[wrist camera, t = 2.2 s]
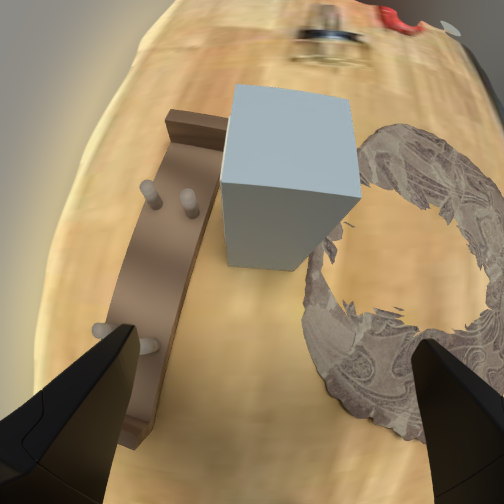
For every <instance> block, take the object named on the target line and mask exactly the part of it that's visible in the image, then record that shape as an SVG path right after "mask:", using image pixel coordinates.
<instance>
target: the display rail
mask: <svg viewBox="0 0 504 504" xmlns="http://www.w3.org/2000/svg"><path fill="white" fill-rule="evenodd" d="M228 119H229V118H224V117H218V116H213V115H207V114H201V113H194V112H188V111H181V110H174V109H170V111H169V113H168V115H167V117H166V119H165V123H166V126H167V130H168V133H169V137H170V140H171V143H170V145H169V147H168V149H167V152H166V154H165V156H164V158H163V160H162V163H161V165H160V167H159V169H158V172H157V174H156V176H155V179H154V181H153V182H152V181H151V180H144V181H143V182H142V183H141V184H140V190H141V192H142V194H143V195H144V197H145V199H146V201H145V203H144V206H143V208H142V211H141V213H140V216H139V219H138V221H137V224H136V227H135V229H134V232H133V235H132V238H131V241H130V243H129V246H128V249H127V252H126V255H125V258H124V261H123V264H122V267H121V270H120V274H119V277H118V280H117V283H116V287H115V290H114V293H113V297H112V300H111V304H110V307H109V311H108V315H107V319H106V322H105V323H95V324H94V325H93V327H92V334H93V336H94V337H96V338H98V339H101V340H102V339H103V338H104V337H106V336H107V335H108V334H109V333H111V332H112V331H113V330H114V329H116V328H117V327H118V326H119V325H121V324H122V323H127V324H133V325H135V326H136V327H137V331H138V336H139V340H140V345H141V348H140V354H139V359H138V364H137V369H136V374H135V380H134V385H133V390H132V395H131V398H130V402H129V405H128V408H127V412H126V415H125V418H124V422H123V425H122V429H121V432H120V436H119V439H118V443H117V444H120V445H122V446H124V447H127V448H129V449H132V450H135V449H136V448H137V447H138V446H139V445H140V444H141V442H142V441H143V440H144V439H145V438H146V437H147V436H148V434H149V433H150V432H151V431H152V428H153V423H154V419H155V414H156V410H157V405H158V401H159V397H160V392H161V388H162V384H163V380H164V375H165V371H166V367H167V363H168V359H169V355H170V351H171V347H172V343H173V340H174V336H175V332H176V328H177V324H178V321H179V317H180V313H181V310H182V306H183V303H184V299H185V295H186V292H187V288H188V285H189V281H190V278H191V275H192V271H193V268H194V264H195V261H196V258H197V254H198V251H199V248H200V245H201V241H202V238H203V235H204V232H205V229H206V225H207V222H208V219H209V216H210V213H211V210H212V207H213V204H214V201H215V198H216V195H217V192H218V189H219V186H220V174H221V166H222V159H223V152H224V145H225V139H226V132H227V126H228Z"/></svg>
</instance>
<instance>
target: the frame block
mask: <svg viewBox="0 0 504 504" xmlns="http://www.w3.org/2000/svg"><path fill="white" fill-rule="evenodd" d="M220 191H221V203H222V215H223V226H224V237H225V243H226V250H227V262H228V266H233V267H245V268H257V269H270V270H283V271H294V270H295V269H296V268H297V267H298V266H299V265H300V264H301V263H302V262H303V261H304V260H305V259H306V258H307V257H308V256H309V255H310V254H311V253H312V252H313V250H314V249H315V248H316V247H317V246H318V245H319V244H320V243H321V242H322V241H323V240H324V239H325V238H326V237H327V236H328V234H329V233H330V232H331V231H332V230H333V229H334V228H335V227H336V226H337V225H338V224H339V222H340V221H341V220H342V219H343V218H344V217H345V216H346V215H347V214H348V213H349V212H350V210H351V209H352V208H353V207H354V206H355V205H356V204H357V203H358V202H359V200H360V199H361V198H362V196H361V185H360V175H359V166H358V157H357V150H356V142H355V135H354V128H353V122H352V116H351V110H350V104H349V100H347V99H342V98H337V97H332V96H327V95H322V94H316V93H310V92H303V91H297V90H290V89H282V88H273V87H264V86H253V85H240V84H236V86H235V92H234V99H233V105H232V111H231V116H229V119H228V126H227V132H226V139H225V145H224V152H223V159H222V166H221V174H220Z"/></svg>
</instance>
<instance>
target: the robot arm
mask: <svg viewBox="0 0 504 504" xmlns="http://www.w3.org/2000/svg"><path fill="white" fill-rule="evenodd" d="M140 348H141V345H140V340H139V336H138V331H137V327H136V326H135V325H133V324H127V323H122V324H121V325H119V326H118V327H117V328H116V329H114V330H113V331H112V332H111V333H109V334H108V335H107V336H106V337H104V338H103V339H102V340H101V341H99V342H98V343H97V344H96V345H95V346H93V347H92V348H91V349H90V350H88V351H87V352H86V353H85V354H83V355H82V356H81V357H80V358H79V359H77V360H76V361H75V362H74V363H73V364H71V365H70V366H69V367H68V368H67V369H65V370H64V371H63V372H62V373H61V374H59V375H58V376H57V377H56V378H55V379H53V380H52V381H51V382H50V383H49V384H47V385H46V386H45V387H44V388H43V389H42V390H40V391H39V392H38V393H37V394H35V395H34V396H33V397H32V398H31V399H29V400H28V401H27V402H26V403H24V404H23V405H22V406H21V407H19V408H18V409H17V410H15V411H14V412H12V413H11V414H10V415H8V416H7V417H5V418H4V419H2V420H1V421H0V504H103V500H104V495H105V491H106V486H107V482H108V478H109V474H110V470H111V466H112V462H113V458H114V454H115V451H116V447H117V443H118V439H119V436H120V432H121V429H122V425H123V422H124V418H125V415H126V412H127V408H128V405H129V402H130V398H131V395H132V390H133V385H134V380H135V374H136V369H137V364H138V359H139V354H140ZM411 365H412V371H413V377H414V384H415V391H416V397H417V402H418V407H419V411H420V416H421V420H422V425H423V430H424V435H425V440H426V445H427V451H428V457H429V463H430V470H431V477H432V484H433V492H434V503H435V504H504V397H503V396H500V394H499V393H498V392H497V391H496V390H495V389H493V388H492V387H491V386H490V385H489V384H488V383H487V382H485V381H484V380H483V379H482V378H481V377H479V376H478V375H477V374H476V373H475V372H474V371H472V370H471V369H470V368H469V367H468V366H466V365H465V364H464V363H463V362H461V361H460V360H459V359H458V358H457V357H455V356H454V355H453V354H452V353H451V352H449V351H448V350H447V349H446V348H444V347H443V346H442V345H441V344H439V343H438V342H437V341H436V340H434V339H433V338H424V339H422V340H421V341H420V342H419V344H418V345H417V347H416V349H415V350H414V352H413V354H412V356H411Z"/></svg>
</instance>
